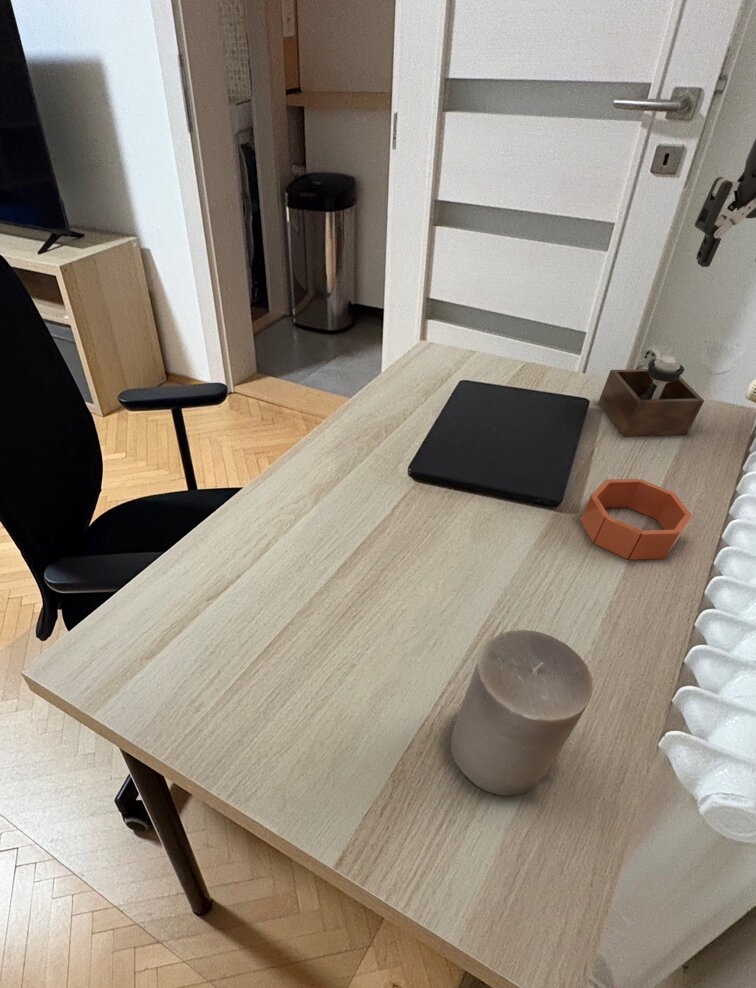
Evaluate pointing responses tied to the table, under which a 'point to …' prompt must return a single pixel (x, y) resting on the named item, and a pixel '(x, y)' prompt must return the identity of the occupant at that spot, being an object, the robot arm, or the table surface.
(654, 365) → the push button
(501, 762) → the pillar candle
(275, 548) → the table surface
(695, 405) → the box
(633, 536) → the bowl
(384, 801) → the table surface
